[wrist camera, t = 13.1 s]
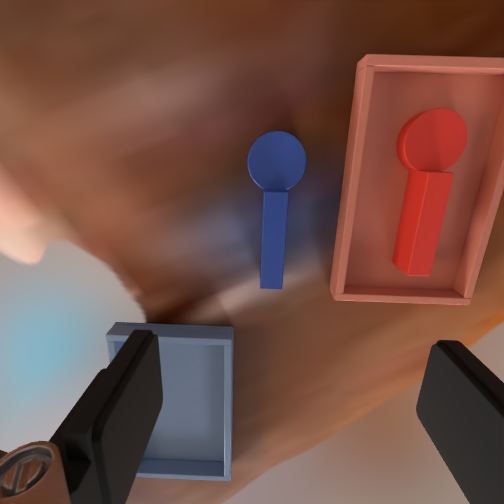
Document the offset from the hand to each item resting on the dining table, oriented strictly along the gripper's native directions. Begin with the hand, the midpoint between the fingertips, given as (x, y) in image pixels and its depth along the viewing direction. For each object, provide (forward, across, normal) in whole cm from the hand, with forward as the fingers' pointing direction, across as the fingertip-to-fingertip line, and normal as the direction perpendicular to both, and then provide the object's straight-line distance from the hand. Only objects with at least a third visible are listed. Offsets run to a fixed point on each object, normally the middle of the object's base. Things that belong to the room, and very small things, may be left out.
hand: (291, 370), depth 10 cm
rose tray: (+14, -10, -5) cm, 18 cm away
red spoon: (+14, -10, -4) cm, 17 cm away
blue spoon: (+14, 0, -3) cm, 14 cm away
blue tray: (+14, +8, +15) cm, 22 cm away
